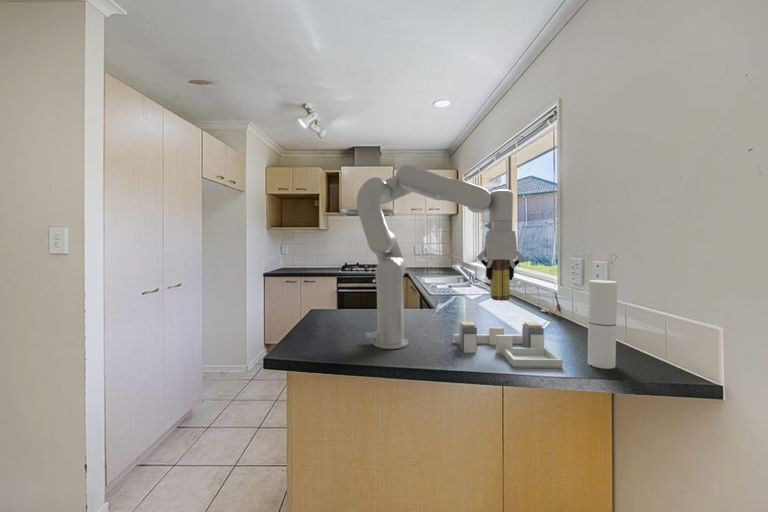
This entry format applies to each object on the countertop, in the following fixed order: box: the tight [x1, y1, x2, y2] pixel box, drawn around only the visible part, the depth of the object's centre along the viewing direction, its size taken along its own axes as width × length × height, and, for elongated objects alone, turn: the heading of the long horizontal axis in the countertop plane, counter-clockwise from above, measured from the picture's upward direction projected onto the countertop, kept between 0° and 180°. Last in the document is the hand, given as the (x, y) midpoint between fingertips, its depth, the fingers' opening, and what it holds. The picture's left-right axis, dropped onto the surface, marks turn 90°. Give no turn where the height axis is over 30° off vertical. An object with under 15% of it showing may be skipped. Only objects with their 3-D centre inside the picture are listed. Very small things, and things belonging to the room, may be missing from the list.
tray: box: [502, 347, 563, 370], centre depth 112 cm, size 14×12×2 cm
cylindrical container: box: [587, 279, 618, 370], centre depth 108 cm, size 7×7×25 cm
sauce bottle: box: [490, 260, 511, 302], centre depth 124 cm, size 7×6×20 cm
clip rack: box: [452, 321, 545, 357], centre depth 125 cm, size 30×15×9 cm, turn 87°
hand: (499, 279), depth 124 cm, fingers closed on sauce bottle, 6 cm apart
